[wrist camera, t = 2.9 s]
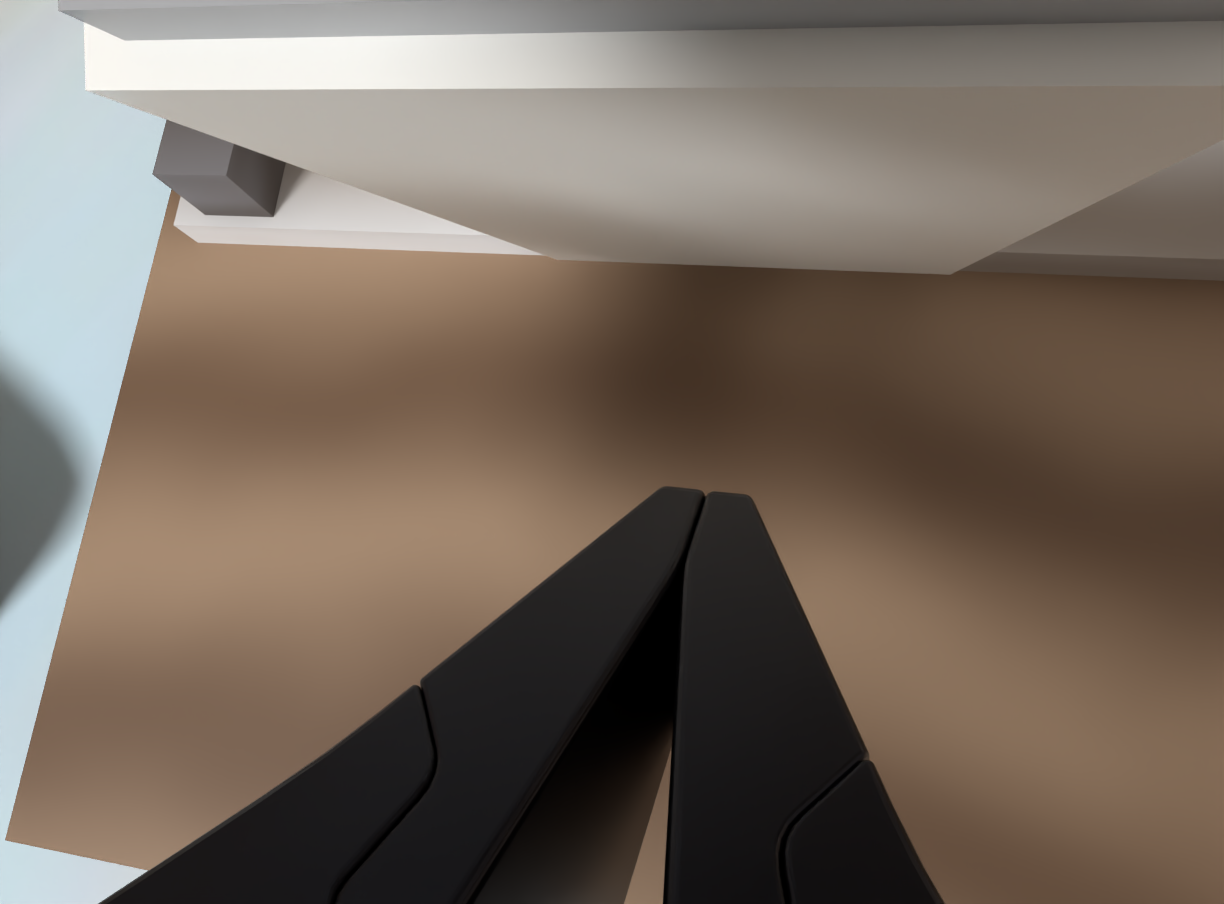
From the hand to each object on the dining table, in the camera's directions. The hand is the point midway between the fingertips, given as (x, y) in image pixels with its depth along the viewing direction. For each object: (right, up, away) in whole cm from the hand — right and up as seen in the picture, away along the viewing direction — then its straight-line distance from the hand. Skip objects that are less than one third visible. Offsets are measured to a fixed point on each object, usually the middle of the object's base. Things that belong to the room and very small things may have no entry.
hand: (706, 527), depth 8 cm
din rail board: (+1, +1, +9) cm, 9 cm away
